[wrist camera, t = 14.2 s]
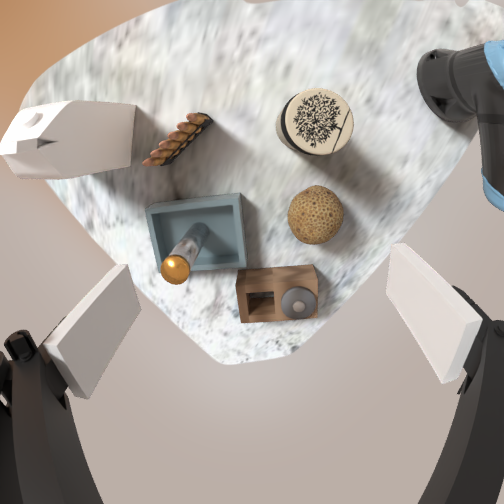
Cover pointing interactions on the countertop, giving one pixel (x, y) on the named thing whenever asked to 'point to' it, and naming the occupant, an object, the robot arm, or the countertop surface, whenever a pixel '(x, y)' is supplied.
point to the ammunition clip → (178, 139)
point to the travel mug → (315, 122)
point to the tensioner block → (277, 293)
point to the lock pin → (184, 254)
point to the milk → (69, 139)
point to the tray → (213, 216)
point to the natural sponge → (315, 215)
